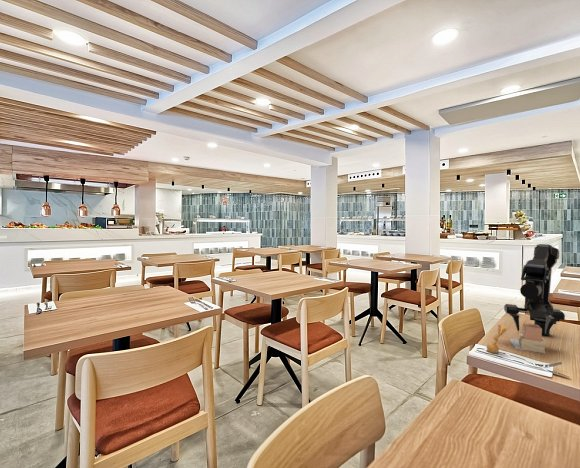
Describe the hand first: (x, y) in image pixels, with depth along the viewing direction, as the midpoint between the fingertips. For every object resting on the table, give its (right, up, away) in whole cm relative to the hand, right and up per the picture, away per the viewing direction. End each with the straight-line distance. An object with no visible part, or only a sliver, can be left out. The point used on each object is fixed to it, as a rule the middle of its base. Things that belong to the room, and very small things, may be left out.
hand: (531, 332), depth 128 cm
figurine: (-18, -7, -5) cm, 20 cm away
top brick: (0, -2, 0) cm, 2 cm away
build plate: (0, -7, +3) cm, 7 cm away
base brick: (0, -6, 0) cm, 6 cm away
